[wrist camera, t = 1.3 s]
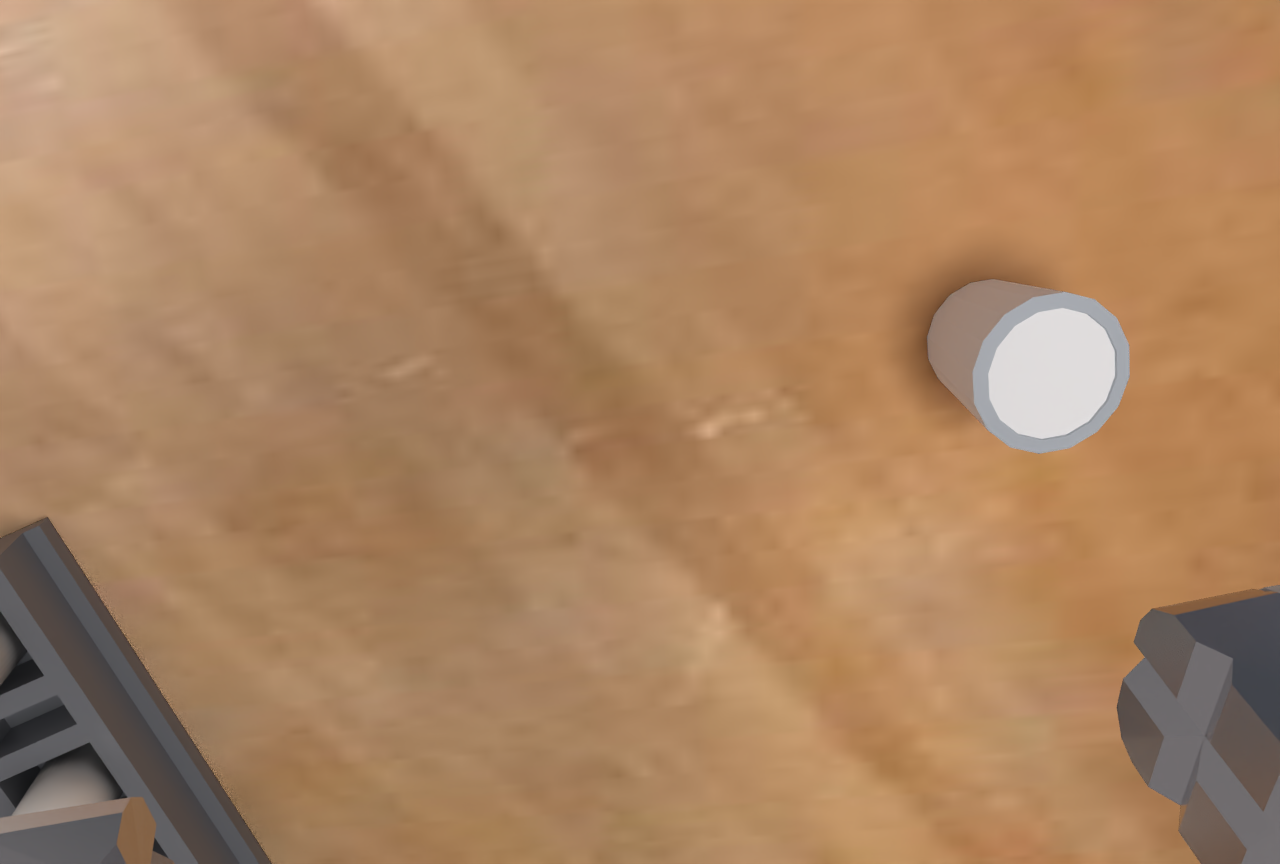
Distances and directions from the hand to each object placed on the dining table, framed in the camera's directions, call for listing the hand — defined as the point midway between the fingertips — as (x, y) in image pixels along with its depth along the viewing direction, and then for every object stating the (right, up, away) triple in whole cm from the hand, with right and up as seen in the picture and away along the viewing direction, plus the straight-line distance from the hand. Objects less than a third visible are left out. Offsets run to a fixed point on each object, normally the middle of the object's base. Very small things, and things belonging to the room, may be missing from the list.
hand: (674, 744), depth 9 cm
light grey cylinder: (+16, +7, +45) cm, 48 cm away
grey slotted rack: (-26, -13, +46) cm, 54 cm away
